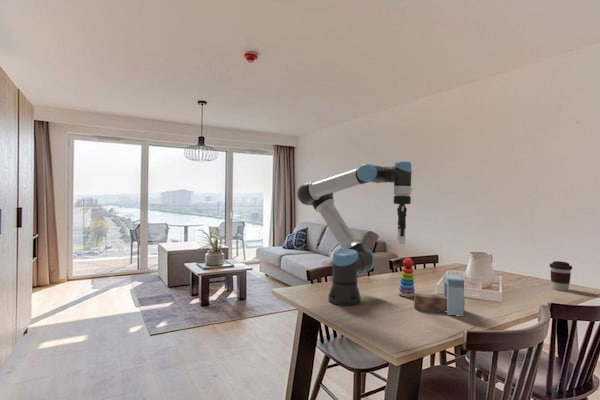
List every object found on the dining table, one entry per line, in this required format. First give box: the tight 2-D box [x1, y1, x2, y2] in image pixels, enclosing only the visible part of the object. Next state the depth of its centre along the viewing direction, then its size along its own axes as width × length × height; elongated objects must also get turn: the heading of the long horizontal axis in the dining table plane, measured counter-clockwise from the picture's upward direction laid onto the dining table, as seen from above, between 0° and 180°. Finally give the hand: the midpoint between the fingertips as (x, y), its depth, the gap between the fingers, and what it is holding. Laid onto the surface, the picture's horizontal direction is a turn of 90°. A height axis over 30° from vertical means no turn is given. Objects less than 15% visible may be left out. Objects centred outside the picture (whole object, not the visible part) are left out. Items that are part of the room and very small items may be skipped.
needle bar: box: [413, 292, 466, 314], centre depth 150 cm, size 20×4×6 cm, turn 76°
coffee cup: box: [549, 260, 573, 292], centre depth 188 cm, size 10×10×15 cm
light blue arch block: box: [442, 273, 465, 317], centre depth 148 cm, size 6×12×15 cm, turn 166°
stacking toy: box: [398, 257, 416, 298], centre depth 171 cm, size 8×8×19 cm
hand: (401, 241), depth 157 cm, fingers open, 13 cm apart
